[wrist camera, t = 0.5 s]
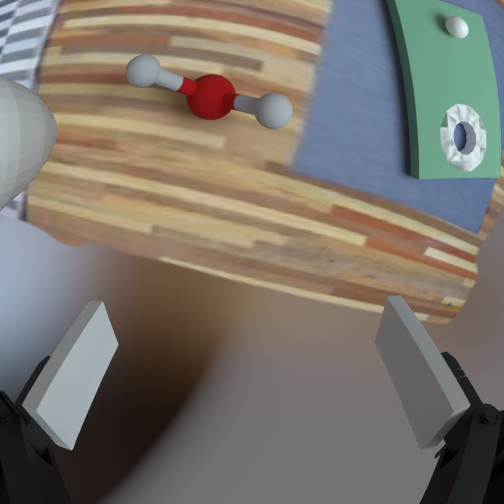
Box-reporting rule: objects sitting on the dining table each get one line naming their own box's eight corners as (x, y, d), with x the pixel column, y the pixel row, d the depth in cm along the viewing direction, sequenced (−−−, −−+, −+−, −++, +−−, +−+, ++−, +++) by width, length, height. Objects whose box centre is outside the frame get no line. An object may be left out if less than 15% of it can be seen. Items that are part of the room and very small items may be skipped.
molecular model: (289, 104, 32) (302, 97, 23) (271, 143, 34) (279, 150, 25) (159, 61, 30) (129, 44, 20) (143, 100, 32) (109, 95, 23)
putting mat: (384, -7, 24) (391, -12, 22) (473, 18, 23) (481, 15, 21) (410, 175, 36) (419, 179, 33) (490, 173, 35) (500, 177, 32)
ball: (438, 16, 23) (451, 10, 19) (455, 21, 22) (469, 17, 19) (443, 37, 24) (457, 33, 21) (461, 42, 24) (475, 38, 21)
